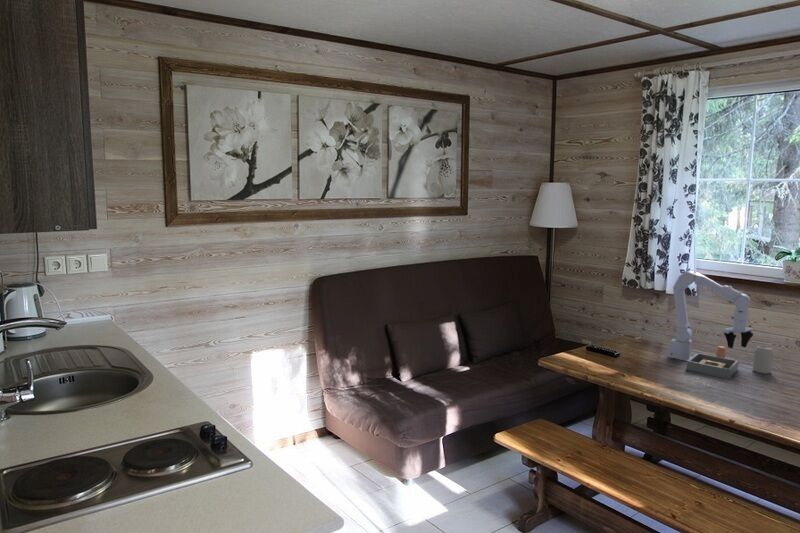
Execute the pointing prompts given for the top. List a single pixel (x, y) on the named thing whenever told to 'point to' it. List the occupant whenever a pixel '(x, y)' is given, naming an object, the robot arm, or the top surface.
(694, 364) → the box
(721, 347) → the peg
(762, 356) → the can
